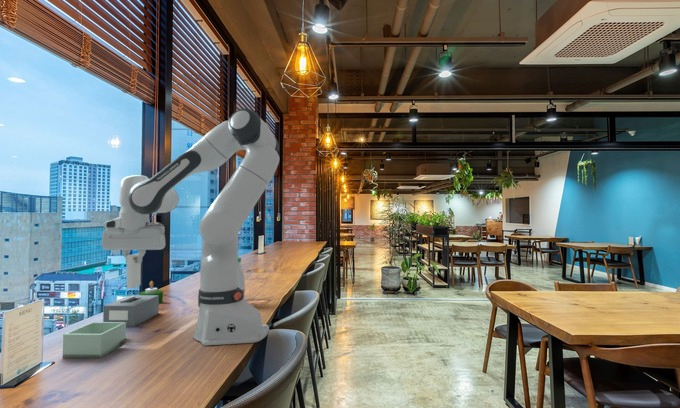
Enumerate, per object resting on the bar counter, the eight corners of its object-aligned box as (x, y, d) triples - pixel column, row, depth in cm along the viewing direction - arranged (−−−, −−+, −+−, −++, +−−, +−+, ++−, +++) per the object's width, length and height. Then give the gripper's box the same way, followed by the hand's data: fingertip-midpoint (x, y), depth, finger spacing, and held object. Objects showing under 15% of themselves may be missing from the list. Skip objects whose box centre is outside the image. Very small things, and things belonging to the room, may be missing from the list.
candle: (166, 304, 139) (167, 280, 139) (146, 309, 132) (146, 283, 132) (155, 301, 143) (156, 278, 143) (135, 306, 136) (135, 281, 136)
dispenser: (158, 317, 121) (158, 293, 121) (133, 331, 107) (134, 304, 107) (130, 317, 121) (131, 293, 122) (102, 331, 107) (103, 303, 107)
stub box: (125, 343, 97) (126, 322, 97) (100, 358, 87) (101, 334, 87) (91, 342, 97) (92, 322, 97) (62, 357, 87) (63, 334, 87)
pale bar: (140, 285, 117) (140, 253, 117) (131, 288, 112) (131, 255, 112) (135, 285, 117) (136, 253, 117) (126, 288, 112) (127, 255, 112)
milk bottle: (246, 304, 139) (247, 256, 139) (241, 310, 131) (242, 258, 132) (227, 304, 138) (228, 256, 139) (221, 310, 131) (222, 258, 131)
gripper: (169, 222, 118) (168, 261, 118) (111, 222, 119) (111, 261, 118) (159, 222, 112) (159, 264, 112) (98, 223, 112) (98, 264, 112)
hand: (134, 263), depth 115 cm, fingers closed on pale bar, 2 cm apart
